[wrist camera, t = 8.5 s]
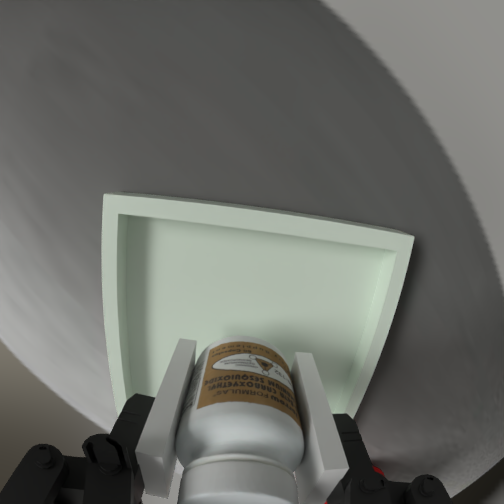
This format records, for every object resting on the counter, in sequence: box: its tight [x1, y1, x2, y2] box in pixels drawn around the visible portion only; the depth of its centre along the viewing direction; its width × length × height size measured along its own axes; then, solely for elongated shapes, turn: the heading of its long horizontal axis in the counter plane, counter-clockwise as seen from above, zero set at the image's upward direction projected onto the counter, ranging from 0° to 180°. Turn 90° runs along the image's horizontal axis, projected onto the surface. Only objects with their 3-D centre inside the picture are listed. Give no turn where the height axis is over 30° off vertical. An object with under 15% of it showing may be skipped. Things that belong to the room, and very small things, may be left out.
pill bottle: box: [175, 335, 304, 504], centre depth 9 cm, size 4×4×8 cm
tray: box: [102, 192, 414, 419], centre depth 14 cm, size 14×14×2 cm
